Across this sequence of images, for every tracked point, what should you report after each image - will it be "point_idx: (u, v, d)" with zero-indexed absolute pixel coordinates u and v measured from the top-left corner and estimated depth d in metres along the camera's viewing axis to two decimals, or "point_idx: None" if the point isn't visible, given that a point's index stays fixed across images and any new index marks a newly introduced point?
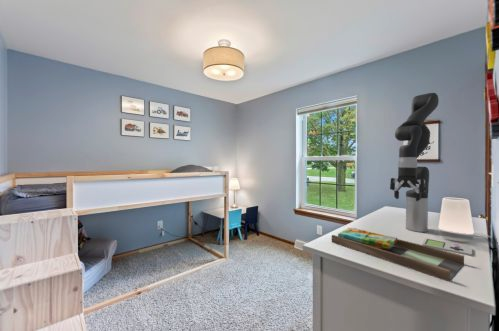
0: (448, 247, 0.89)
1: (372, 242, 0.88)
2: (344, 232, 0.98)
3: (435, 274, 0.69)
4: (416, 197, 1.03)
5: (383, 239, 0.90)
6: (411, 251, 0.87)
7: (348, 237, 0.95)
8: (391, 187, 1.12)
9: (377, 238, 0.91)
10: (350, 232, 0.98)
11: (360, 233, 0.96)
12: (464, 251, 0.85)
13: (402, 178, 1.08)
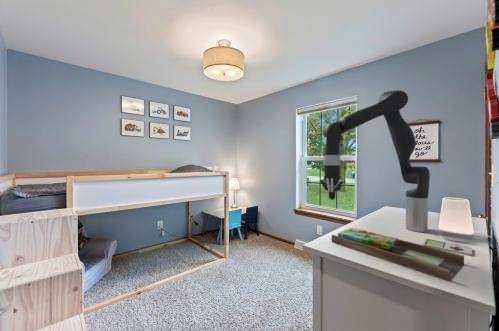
0: (448, 247, 0.89)
1: (371, 242, 0.88)
2: (344, 232, 0.99)
3: (435, 274, 0.69)
4: (331, 196, 1.07)
5: (383, 239, 0.90)
6: (411, 251, 0.87)
7: (347, 237, 0.95)
8: (326, 187, 1.10)
9: (377, 238, 0.91)
10: (350, 232, 0.98)
11: (360, 233, 0.96)
12: (464, 251, 0.85)
13: (327, 176, 1.09)
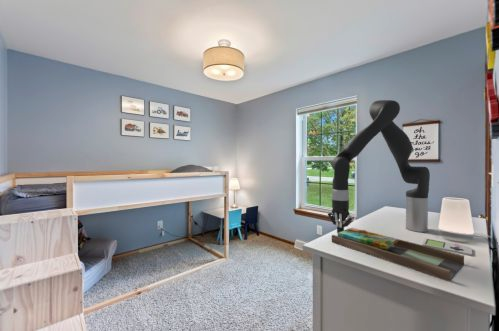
0: (448, 247, 0.89)
1: (370, 242, 0.88)
2: (344, 232, 0.99)
3: (435, 274, 0.69)
4: (339, 231, 1.04)
5: (382, 239, 0.89)
6: (411, 251, 0.87)
7: (347, 237, 0.95)
8: (334, 222, 1.06)
9: (376, 238, 0.91)
10: (350, 232, 0.98)
11: (360, 233, 0.96)
12: (464, 251, 0.85)
13: (335, 210, 1.06)
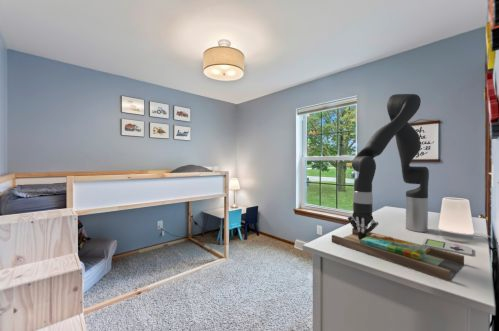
0: (448, 247, 0.89)
1: (399, 251, 0.79)
2: (367, 238, 0.90)
3: (435, 274, 0.69)
4: (361, 237, 0.95)
5: (412, 248, 0.81)
6: None
7: (371, 244, 0.86)
8: (355, 227, 0.98)
9: (405, 247, 0.82)
10: (374, 238, 0.90)
11: (386, 240, 0.88)
12: (464, 251, 0.85)
13: (357, 214, 0.97)
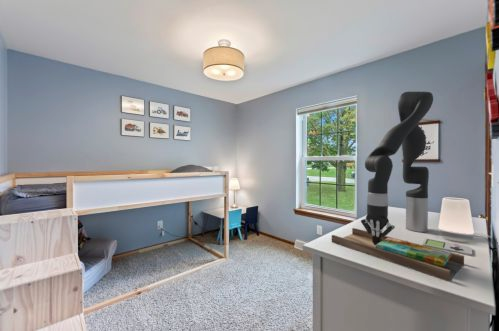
0: (448, 247, 0.89)
1: (420, 257, 0.74)
2: (383, 243, 0.85)
3: (435, 274, 0.69)
4: (376, 241, 0.90)
5: (434, 253, 0.76)
6: None
7: (389, 249, 0.81)
8: (369, 230, 0.92)
9: (426, 252, 0.77)
10: (391, 243, 0.85)
11: (403, 245, 0.83)
12: (464, 251, 0.85)
13: (371, 216, 0.92)
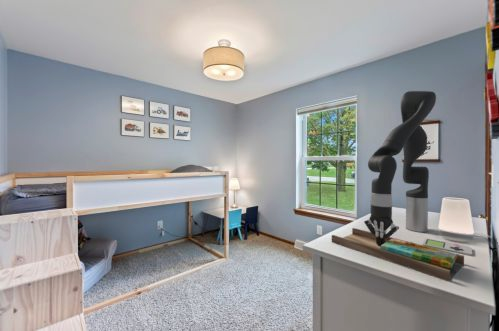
0: (448, 247, 0.89)
1: (426, 259, 0.73)
2: (388, 244, 0.84)
3: (435, 274, 0.69)
4: (380, 242, 0.89)
5: (439, 255, 0.74)
6: None
7: (394, 251, 0.80)
8: (372, 231, 0.91)
9: (431, 253, 0.76)
10: (395, 244, 0.83)
11: (408, 246, 0.81)
12: (464, 251, 0.85)
13: (375, 217, 0.90)
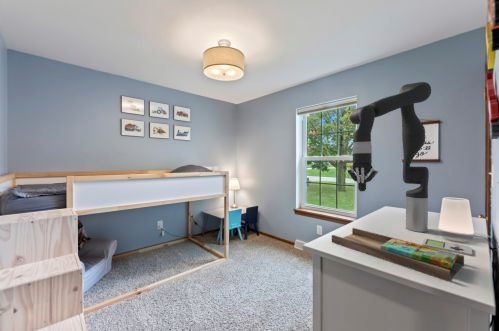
0: (448, 247, 0.89)
1: (426, 259, 0.73)
2: (388, 244, 0.84)
3: (435, 274, 0.69)
4: (361, 187, 0.97)
5: (440, 255, 0.74)
6: None
7: (394, 251, 0.80)
8: (355, 178, 0.99)
9: (431, 254, 0.76)
10: (395, 244, 0.83)
11: (408, 246, 0.81)
12: (464, 251, 0.85)
13: (357, 165, 0.98)
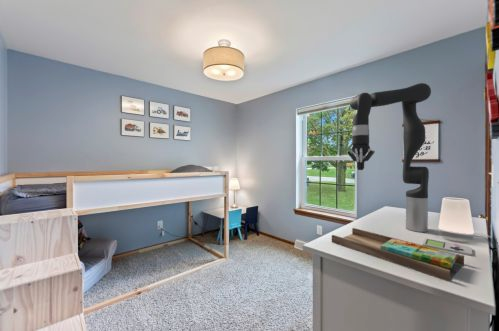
0: (448, 247, 0.89)
1: (426, 259, 0.73)
2: (388, 244, 0.84)
3: (435, 274, 0.69)
4: (360, 166, 1.08)
5: (440, 255, 0.74)
6: None
7: (394, 251, 0.80)
8: (354, 158, 1.10)
9: (431, 254, 0.76)
10: (395, 244, 0.83)
11: (408, 246, 0.81)
12: (464, 251, 0.85)
13: (356, 146, 1.09)
